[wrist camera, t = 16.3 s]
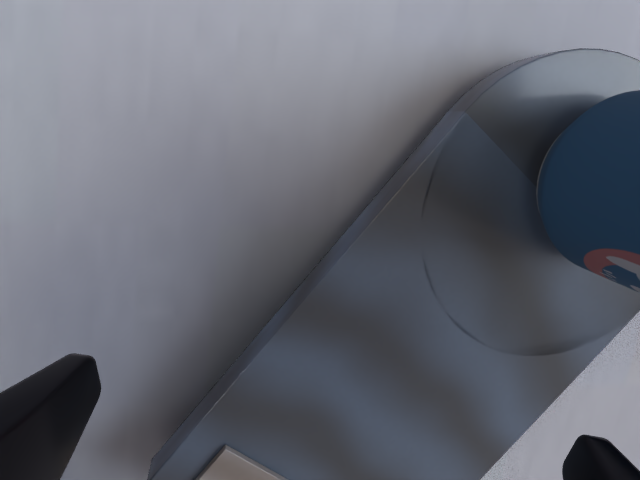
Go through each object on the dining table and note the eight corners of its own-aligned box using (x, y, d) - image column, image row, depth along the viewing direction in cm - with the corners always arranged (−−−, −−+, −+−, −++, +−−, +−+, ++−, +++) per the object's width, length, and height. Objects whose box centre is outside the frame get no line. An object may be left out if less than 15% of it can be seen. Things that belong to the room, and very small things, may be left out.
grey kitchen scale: (355, 542, 25) (372, 602, 22) (156, 435, 21) (143, 491, 18) (686, 184, 23) (757, 195, 20) (535, -11, 19) (594, -36, 16)
